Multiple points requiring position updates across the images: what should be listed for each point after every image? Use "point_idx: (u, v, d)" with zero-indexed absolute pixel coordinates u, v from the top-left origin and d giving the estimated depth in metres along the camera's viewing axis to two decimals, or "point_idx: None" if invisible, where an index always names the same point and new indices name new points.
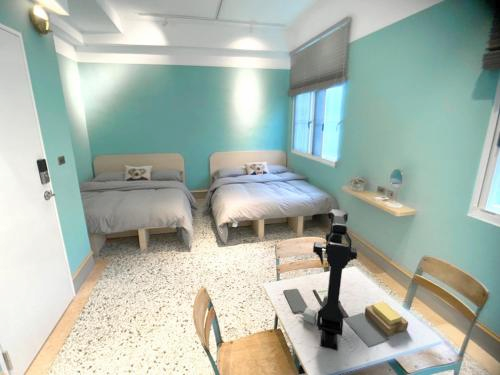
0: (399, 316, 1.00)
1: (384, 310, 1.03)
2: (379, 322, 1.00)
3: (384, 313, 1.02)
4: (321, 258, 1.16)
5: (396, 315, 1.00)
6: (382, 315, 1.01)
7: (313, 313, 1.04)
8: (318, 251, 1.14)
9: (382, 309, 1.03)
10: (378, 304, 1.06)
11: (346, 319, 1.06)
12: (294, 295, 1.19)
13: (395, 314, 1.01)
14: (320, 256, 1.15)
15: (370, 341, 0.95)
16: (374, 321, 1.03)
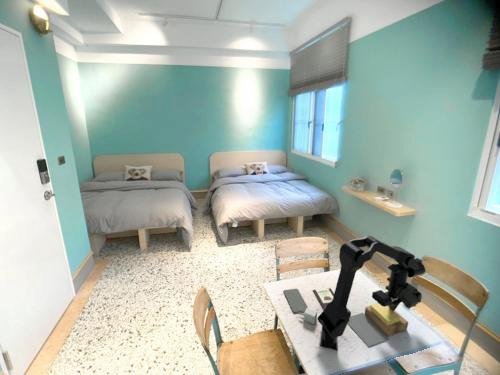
0: (397, 317, 1.00)
1: (382, 310, 1.03)
2: (379, 322, 1.00)
3: (382, 313, 1.01)
4: None
5: (394, 316, 1.00)
6: (380, 316, 1.01)
7: (313, 313, 1.04)
8: None
9: (380, 310, 1.03)
10: (376, 304, 1.06)
11: None
12: (294, 295, 1.19)
13: (393, 314, 1.01)
14: None
15: (370, 341, 0.95)
16: (374, 321, 1.03)
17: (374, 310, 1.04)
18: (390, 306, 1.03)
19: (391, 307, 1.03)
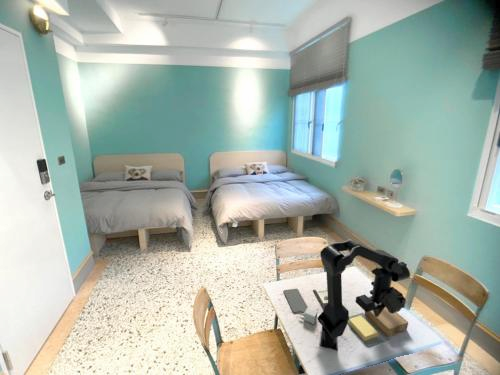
0: None
1: None
2: (379, 322, 1.00)
3: None
4: None
5: None
6: None
7: (314, 313, 1.04)
8: None
9: None
10: None
11: None
12: (294, 295, 1.19)
13: None
14: None
15: (370, 341, 0.95)
16: (374, 321, 1.03)
17: None
18: (374, 311, 1.01)
19: (375, 312, 1.00)
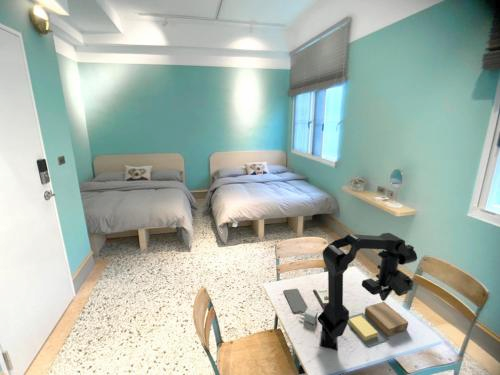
0: None
1: None
2: (379, 322, 1.00)
3: None
4: None
5: None
6: None
7: (314, 313, 1.04)
8: None
9: None
10: None
11: None
12: (294, 295, 1.19)
13: None
14: None
15: (370, 341, 0.95)
16: (374, 321, 1.03)
17: None
18: (381, 295, 0.99)
19: (382, 296, 0.99)
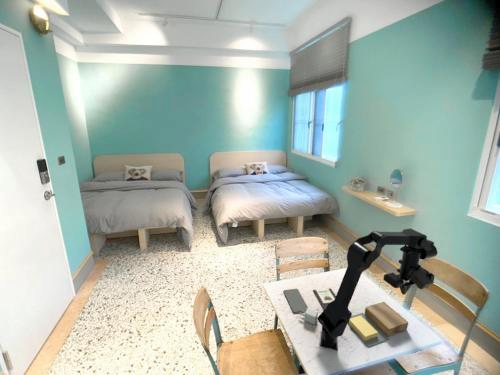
0: None
1: None
2: (379, 322, 1.00)
3: None
4: None
5: None
6: None
7: (314, 314, 1.04)
8: None
9: None
10: None
11: None
12: (294, 295, 1.19)
13: None
14: None
15: (370, 341, 0.95)
16: (374, 321, 1.03)
17: None
18: (401, 289, 1.03)
19: (403, 290, 1.02)
